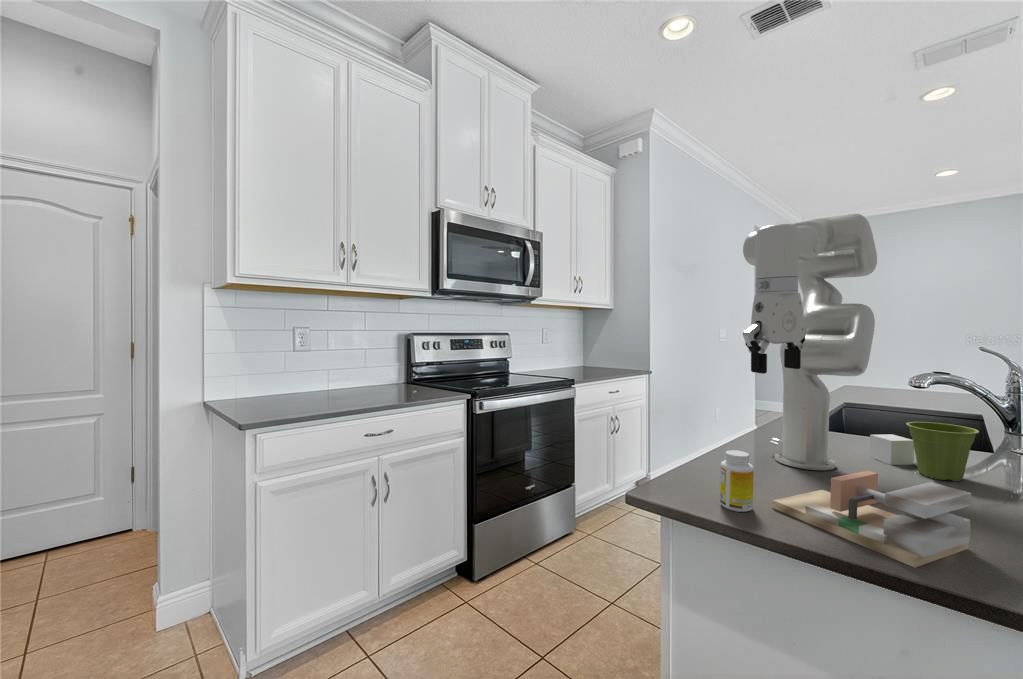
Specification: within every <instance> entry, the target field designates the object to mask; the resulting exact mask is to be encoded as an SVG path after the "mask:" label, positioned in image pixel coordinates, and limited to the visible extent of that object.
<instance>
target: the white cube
mask: <svg viewBox="0 0 1023 679" xmlns="http://www.w3.org/2000/svg"><path fill="white" fill-rule="evenodd" d="M870 457H871V458H870ZM914 457H915V449H914V444H913V439H910V438H908V437H907V438H906V437H904V436H899V435H897V434H893V433H892V434H891V433H890V434H889V433H888V434H882V433H881V434H870V435H869V458H870V459H873V458H874V459H873V460H875V459H877V460H876V461H878V460H879V462H882V463H884V464H887V465H890V466H897V465H902V466H903V465H914V462H915V458H914Z"/></svg>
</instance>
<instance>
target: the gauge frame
mask: <svg viewBox="0 0 1023 679" xmlns="http://www.w3.org/2000/svg"><path fill="white" fill-rule="evenodd" d="M884 494H885V504H884V506H885V507H888V508H892V509H894V510H898V511H902V512H904V513H903V514H900V515H899V514H895V513H892V512H890V511H886V510H884V509H881V508H877V507H874V506H872V505H866V506H862V507H858V508H857V519H855V520H853V519H850V518H848V512H849V510H846V511H842V512H839V511H836V510H834V509H831V508H830V498H831V491H827V490H825V489H819V490H815V491H809V492H804V493H800V494H795V495H791V496H786V497H781V498H777V499H772V502H771V503H772V505H771V506H772V507H771V508H772V509H774V510H777V511H778V512H780V513H783V514H785V515H788V516H790V517H793V518H795V519H797V520H800V521H802V522H805V523H806V524H809V525H812V526H814V527H817V528H818V529H821V530H823V531H826V532H829V533H831V534H833V535H836V536H838V537H841V538H843V539H845V540H847V541H850V542H852V543H855V544H857V545H859V546H862V547H864V548H866V549H869V550H872V551H874V552H876V553H879V554H881V555H883V556H886V557H888V558H891V559H893V560H896V561H898V562H900V563H903V564H905V565H908V566H910V567H911V568H914V569H916V568H919V567H922V566H924V565H927V564H930V563H933V562H935V561H938V560H941V559H944V558H947V557H950V556H951V555H952V556H953V555H955V554H957V553H960V552H964V551H966V550H969V543H970V541H971V540H970V538H971V519H969V518H965V517H962V516H958V515H956V514H953V513H950V512H953V511H956V510H961V509H963V508H967V507H971V506H972V492H968V491H965V490H961V489H959V488H958V489H957V488H954V487H951V486H950V487H949V486H947V485H942V484H940V483H935V482H931V481H930V482H926V483H925V482H924V483H921V484H920V483H919V484H917V485H916V484H915V485H912V486H908V487H903V488H900V489H896V490H891V491H887V492H885V493H884ZM943 513H948V514H952V515H955V516H958V517H961V518H963V519H964V525H963V527H962V528H961V529H959V528H956V527H953V526H950V525H947V524H944V523H941V522H938V521H935V520H932V519H929V517H933V516H936V515H940V514H943Z"/></svg>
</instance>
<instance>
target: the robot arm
mask: <svg viewBox="0 0 1023 679" xmlns="http://www.w3.org/2000/svg"><path fill="white" fill-rule="evenodd" d="M873 235H874V234H873V231H872V227H871V225H870V222H869V221H868V219H867V218H866V217H865V216H864V215H862V214H861V213H850V214H849V213H848V214H843V215H842V214H841V215H835V216H828V217H822V218H821V217H820V218H814V219H809V220H805V221H799V222H794V223H777V224H770V225H766V226H762V227H760V228H758V230H756V231H753V232H752V231H751V233H749V234H748V235H747V236H746V238H745V240H744V243H743V245H742V254H743V257H744V259H745V261H746V262H747V263H748V264H749V265H752V266H755V268H754V270H755V271H754V272H755V273H754V274H755V275H754V276H755V279H754V280H755V282H754V283H755V285H754V286H755V294H754V298H753V302H752V310H751V321H750V324H751V326H749V327H748V328H747V329H745V330H744V331H743V332H742V337H743V339H744V341H745V344H744V345H745V346H746V347H747V349H748V352H749V353H750V371H751V373H756V374H763V375H764V374H767V372H768V355H767V353H765V352H766V350H767V349H768V347H769V345H770V344H773V345H778V344H779V345H780V344H781V345H780V347H779V356H780V363H781V369H782V380H783V382H782V385H783V395H782V399H783V400H782V429H781V430H782V432H781V434H782V435H781V439H779V438H776V437H773V438H771V440H770V441H769V443H768V445H769V447H773V448H777V452H775V453H774V459H775V461H777V462H778V463H780V464H783V465H786V466H789V467H792V468H798V469H804V470H810V471H830V470H834V469H835V468H836V465H837V464H836V461H835V460H833V459H832V458H830V457H828V456H829V432H830V431H829V428H830V426H829V425H830V401H831V400H830V391H829V388H828V387H827V385H825V383H824V382H823V380H821V378H820V377H819V376H820V375H821V376H823V375H824V376H825V375H826V376H837V377H857V376H861V375H863V374H864V373H865V372H866V370H867V368H868V366H869V361H870V356H871V351H872V346H873V339H874V334H875V327H876V326H875V324H876V320H875V319H876V318H875V314H874V312H873V310H872V309H871V307H870V306H868V305H866V304H863V303H843V296H842V293H841V292H840V290H839V289H838V288H837V287H835V285H833V284H832V283H830V282H829V281H827V280H826V279H828V280H829V279H840V278H841V279H843V278H844V279H845V278H860V277H866V276H869V275H871V274H873V272H874V271H875V270H876V267H877V265H878V253H877V248H876V243H875V239H874V236H873ZM799 287H800V290H801V292H802V296H803V298H802V296H801V293H799Z"/></svg>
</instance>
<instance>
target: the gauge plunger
mask: <svg viewBox="0 0 1023 679" xmlns="http://www.w3.org/2000/svg"><path fill="white" fill-rule="evenodd" d="M878 483H879V472H874V471H873V470H872V471H871V470H865V471H859V472H854V473H849V474H845V475H839V476H835V477H831V478H830V492H831V498H830V508H831V509H834V510H836V511H839V512H842V511H846V510H849V512H848V518H850V519H853V520H855V519H857V508H858V507H862V506H866V505H869V506H871V505H873V504H878V503H880V504H883V505H885V493H883V492H880V491H879V490H878V489H879V488H878V487H879V484H878ZM948 513H949V512H947V513H943V514H940V515H936V516H933V517H929V519H932V520H935V521H938V522H941V523H944V524H947V525H950V526H953V527H956V528H959V529H961V528H962V527H963V525H964V519H963V518H964V517H963V518H961V517H962V516H959V517H958V515H956V514H953V513H950V514H948ZM952 514H953V515H952ZM955 515H956V516H955Z"/></svg>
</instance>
